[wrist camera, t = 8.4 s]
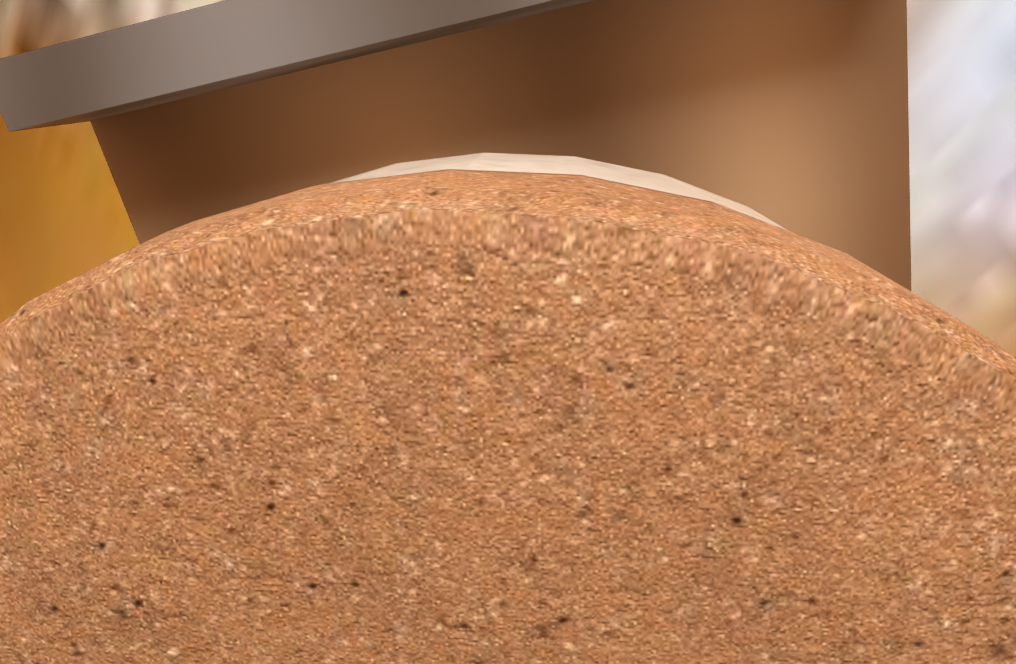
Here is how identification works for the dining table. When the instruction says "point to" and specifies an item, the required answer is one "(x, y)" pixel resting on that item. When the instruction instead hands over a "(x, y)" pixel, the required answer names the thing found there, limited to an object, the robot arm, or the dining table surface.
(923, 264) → the dining table surface
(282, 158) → the stepped stand
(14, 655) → the lidded jar
